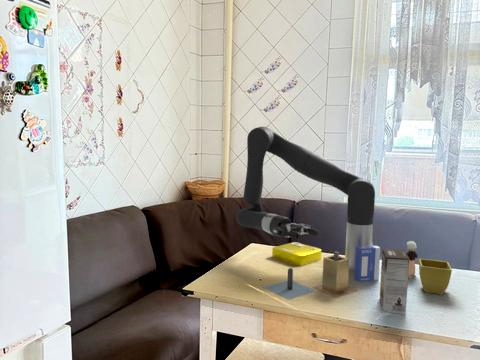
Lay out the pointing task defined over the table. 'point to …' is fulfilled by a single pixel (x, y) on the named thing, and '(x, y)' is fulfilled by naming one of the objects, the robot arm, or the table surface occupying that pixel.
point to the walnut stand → (350, 290)
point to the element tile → (296, 253)
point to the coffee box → (394, 280)
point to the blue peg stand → (290, 288)
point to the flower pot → (434, 275)
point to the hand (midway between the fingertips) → (308, 234)
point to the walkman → (367, 263)
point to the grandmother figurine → (412, 258)
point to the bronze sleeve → (335, 274)
